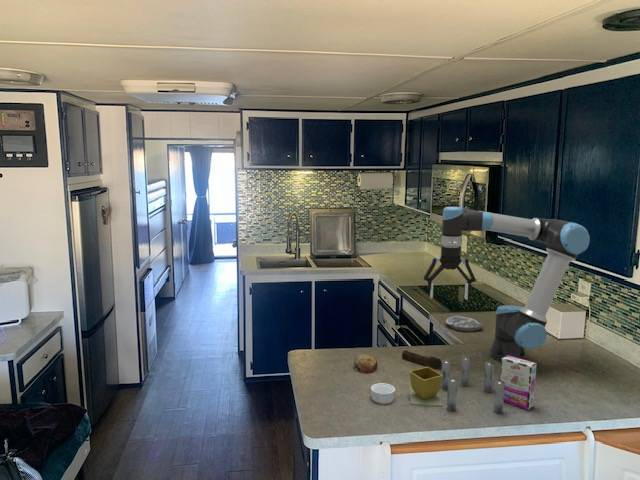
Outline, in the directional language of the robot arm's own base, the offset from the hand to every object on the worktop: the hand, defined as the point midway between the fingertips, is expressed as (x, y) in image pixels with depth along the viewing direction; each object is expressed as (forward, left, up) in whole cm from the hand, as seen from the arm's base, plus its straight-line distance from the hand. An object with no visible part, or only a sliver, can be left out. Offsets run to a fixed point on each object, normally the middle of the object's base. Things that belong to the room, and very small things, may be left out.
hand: (448, 298), depth 205 cm
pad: (+11, +23, -32) cm, 41 cm away
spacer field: (-6, +21, -32) cm, 38 cm away
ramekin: (+26, +26, -32) cm, 49 cm away
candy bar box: (-22, +24, -32) cm, 46 cm away
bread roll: (+33, -1, -32) cm, 46 cm away
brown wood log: (+8, -8, -32) cm, 34 cm away
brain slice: (-17, -58, -32) cm, 68 cm away
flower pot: (+10, +23, -31) cm, 40 cm away
